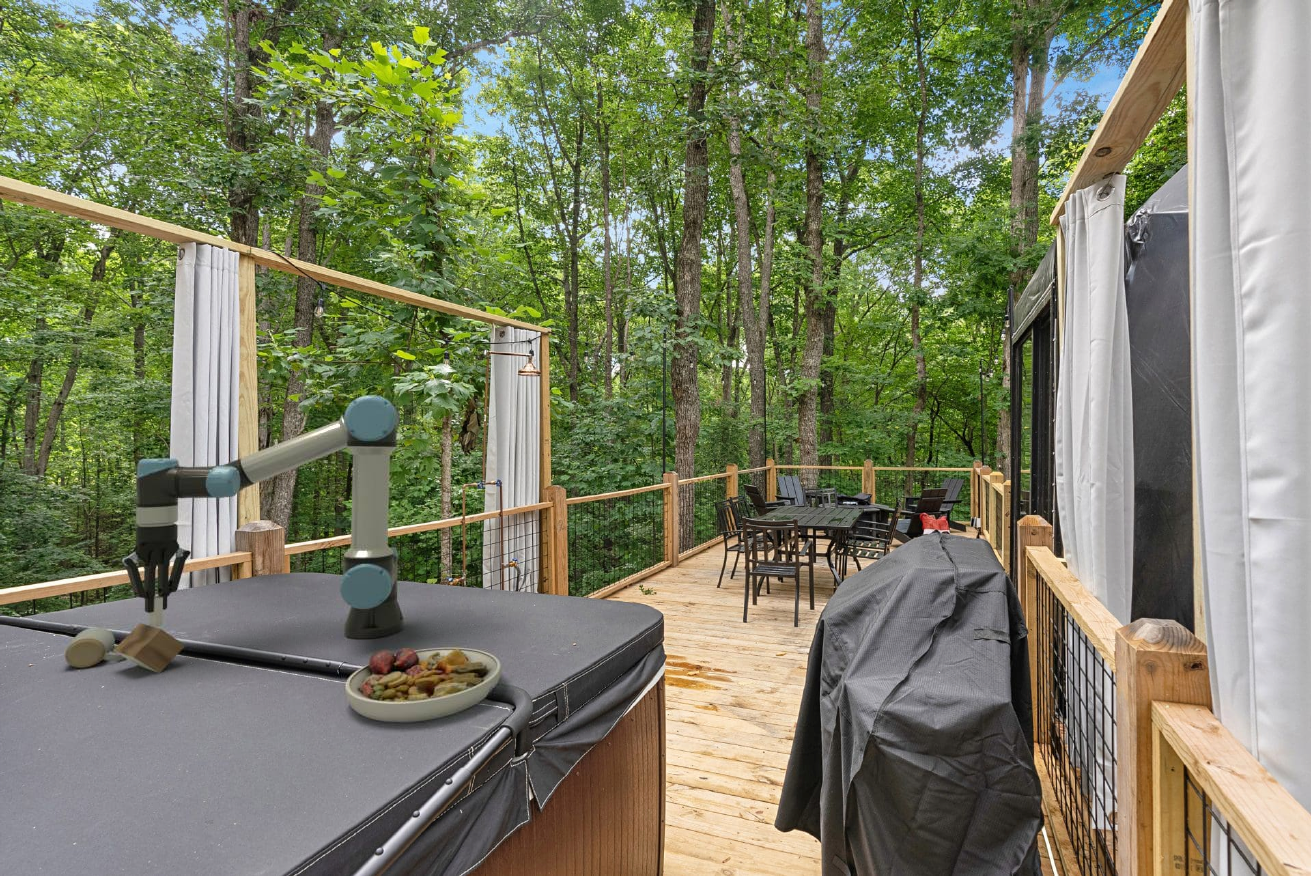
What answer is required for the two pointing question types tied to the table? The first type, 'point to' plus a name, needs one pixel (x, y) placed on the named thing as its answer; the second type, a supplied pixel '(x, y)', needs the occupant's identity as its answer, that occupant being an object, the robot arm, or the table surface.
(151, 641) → the walnut block
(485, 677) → the bowl
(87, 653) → the ceramic mug
